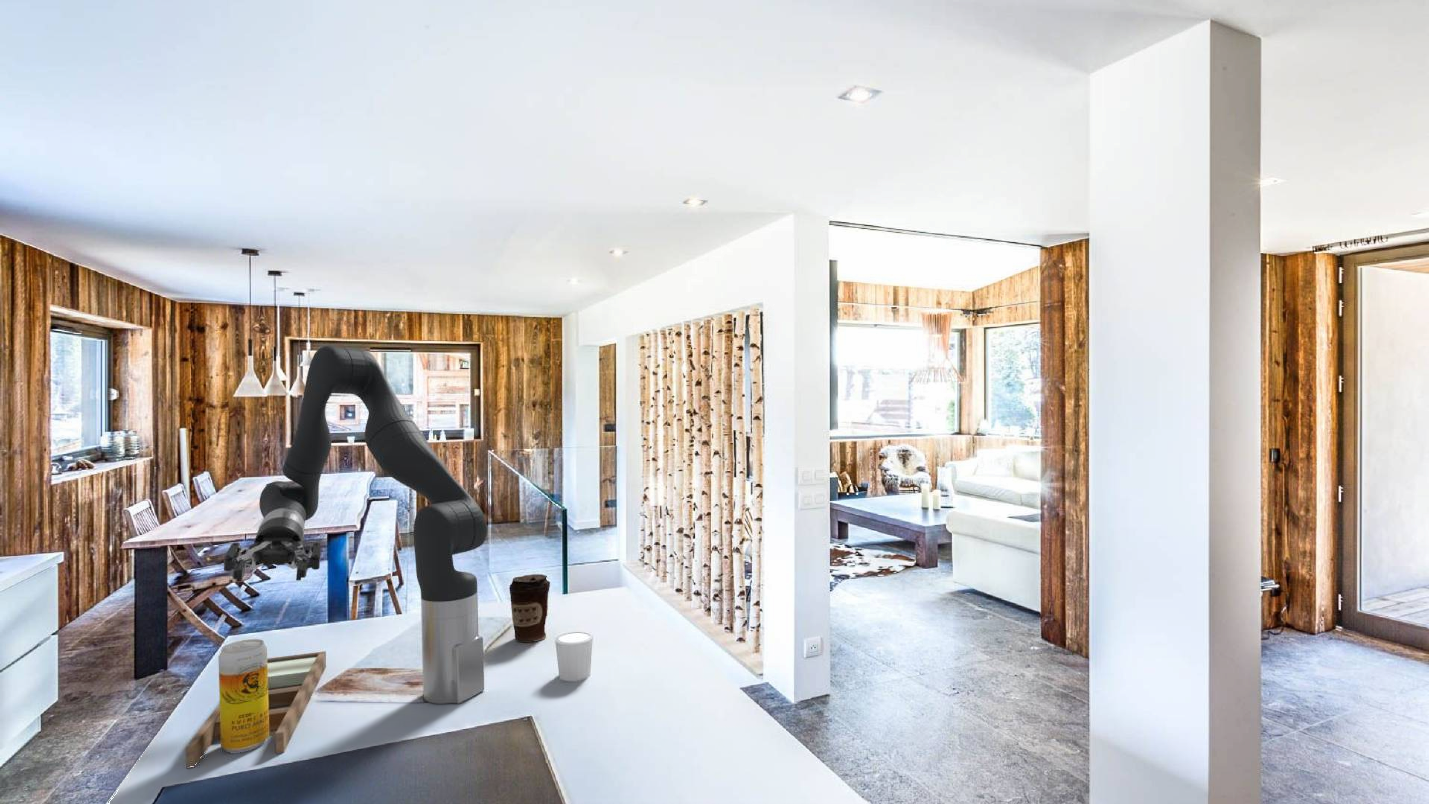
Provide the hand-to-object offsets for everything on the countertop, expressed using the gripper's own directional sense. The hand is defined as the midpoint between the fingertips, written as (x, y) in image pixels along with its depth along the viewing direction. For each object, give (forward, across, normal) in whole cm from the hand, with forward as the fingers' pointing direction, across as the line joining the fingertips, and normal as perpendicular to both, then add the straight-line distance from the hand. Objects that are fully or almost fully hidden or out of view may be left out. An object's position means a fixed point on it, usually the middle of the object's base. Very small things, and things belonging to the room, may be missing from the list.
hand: (269, 576), depth 120 cm
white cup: (+15, +50, +14) cm, 54 cm away
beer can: (+18, 0, +18) cm, 26 cm away
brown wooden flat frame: (+6, +2, +21) cm, 22 cm away
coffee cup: (-8, +48, +20) cm, 53 cm away
